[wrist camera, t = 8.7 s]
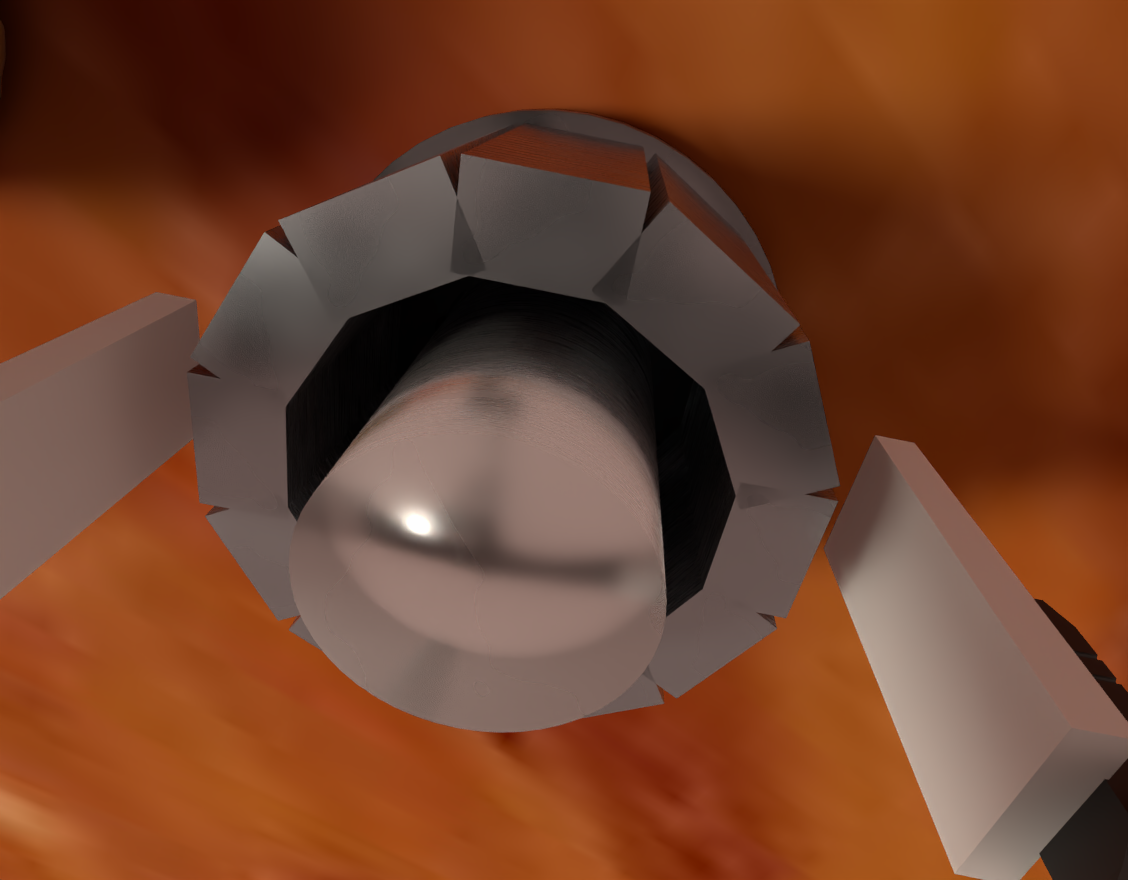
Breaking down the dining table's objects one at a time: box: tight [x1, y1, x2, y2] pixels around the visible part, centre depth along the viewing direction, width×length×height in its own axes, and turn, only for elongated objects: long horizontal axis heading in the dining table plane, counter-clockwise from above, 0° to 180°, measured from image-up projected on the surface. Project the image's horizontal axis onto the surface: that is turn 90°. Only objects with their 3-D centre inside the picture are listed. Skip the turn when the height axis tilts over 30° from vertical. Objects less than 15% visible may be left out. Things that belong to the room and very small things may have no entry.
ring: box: [187, 123, 840, 718], centre depth 14 cm, size 10×10×6 cm
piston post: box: [289, 109, 778, 732], centre depth 13 cm, size 11×11×9 cm
